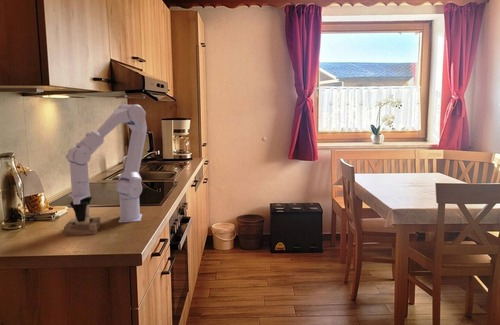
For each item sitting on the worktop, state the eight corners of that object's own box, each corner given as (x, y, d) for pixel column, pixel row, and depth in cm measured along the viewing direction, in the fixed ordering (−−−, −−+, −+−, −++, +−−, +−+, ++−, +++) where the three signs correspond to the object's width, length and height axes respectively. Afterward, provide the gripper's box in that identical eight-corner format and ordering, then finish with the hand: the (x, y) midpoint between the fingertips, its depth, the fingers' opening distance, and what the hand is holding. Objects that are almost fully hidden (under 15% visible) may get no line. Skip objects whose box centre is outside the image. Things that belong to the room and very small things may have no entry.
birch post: (78, 224, 147) (77, 204, 146) (90, 223, 148) (89, 204, 147) (75, 227, 143) (74, 207, 142) (88, 226, 144) (86, 207, 143)
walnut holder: (71, 226, 150) (71, 218, 149) (100, 225, 151) (100, 217, 151) (64, 235, 140) (64, 227, 139) (95, 233, 142) (95, 225, 141)
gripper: (72, 178, 149) (75, 214, 151) (62, 186, 135) (65, 226, 137) (93, 177, 151) (95, 213, 153) (84, 185, 136) (87, 224, 138)
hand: (82, 219), depth 145 cm, fingers closed on birch post, 4 cm apart
